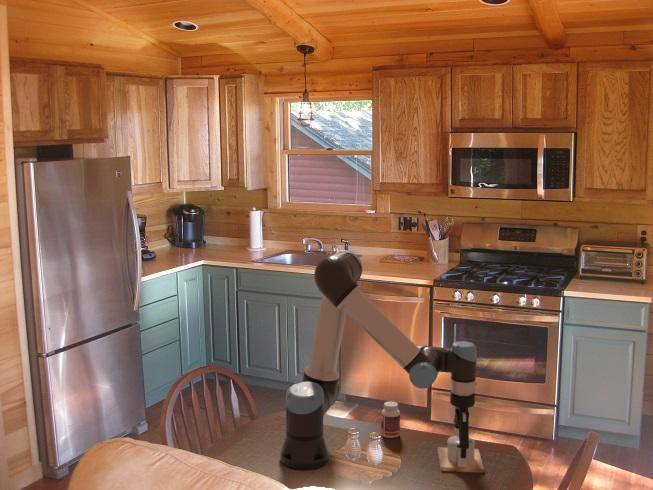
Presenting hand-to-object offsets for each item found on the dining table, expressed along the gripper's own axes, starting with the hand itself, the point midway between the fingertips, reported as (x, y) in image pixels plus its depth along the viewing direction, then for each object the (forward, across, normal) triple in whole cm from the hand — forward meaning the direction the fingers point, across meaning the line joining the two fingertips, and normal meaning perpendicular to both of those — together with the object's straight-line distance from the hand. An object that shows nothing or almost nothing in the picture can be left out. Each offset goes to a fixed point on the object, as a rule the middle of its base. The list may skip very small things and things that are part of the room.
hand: (460, 457), depth 240 cm
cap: (0, 0, 0) cm, 0 cm away
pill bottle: (+2, +18, +22) cm, 28 cm away
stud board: (+1, 0, 0) cm, 1 cm away
